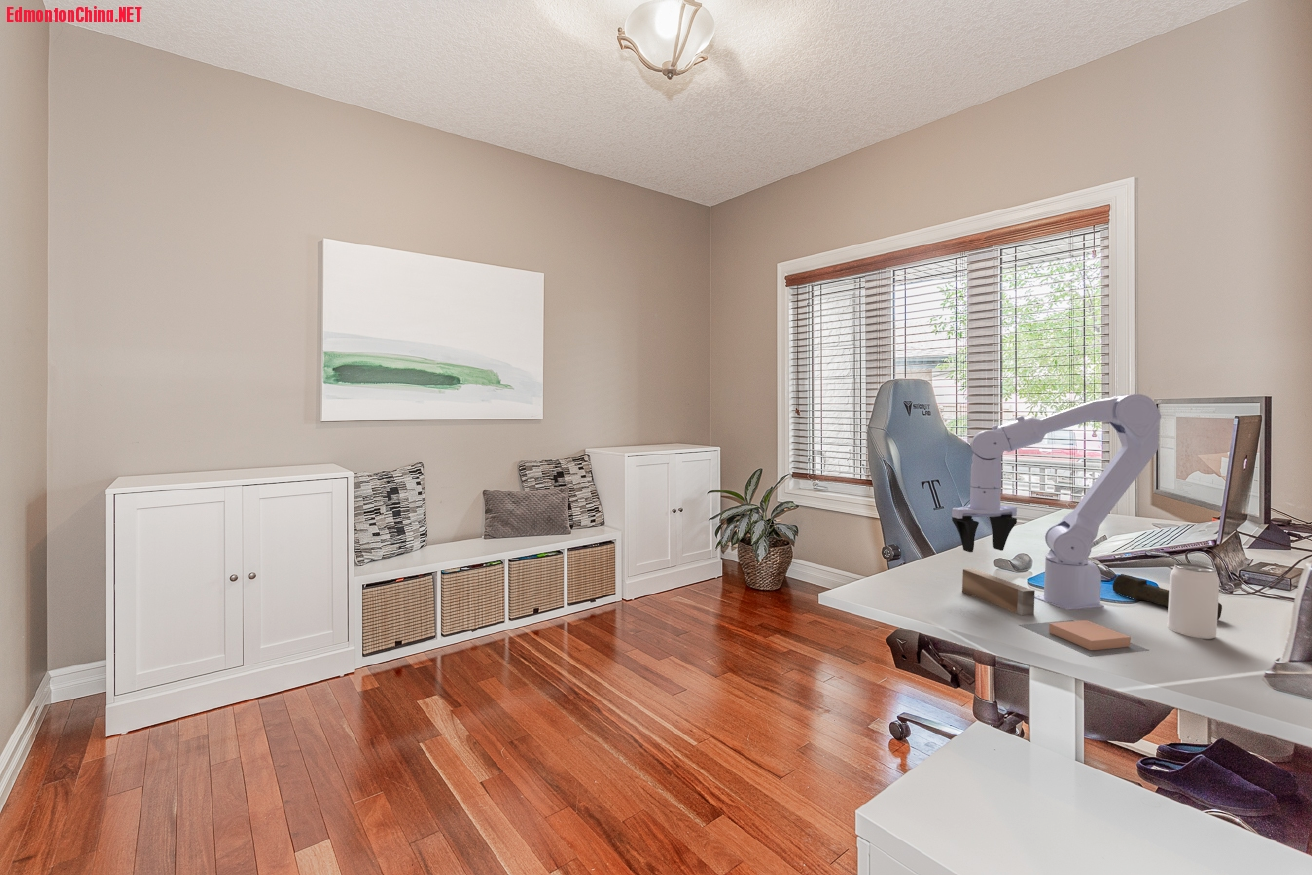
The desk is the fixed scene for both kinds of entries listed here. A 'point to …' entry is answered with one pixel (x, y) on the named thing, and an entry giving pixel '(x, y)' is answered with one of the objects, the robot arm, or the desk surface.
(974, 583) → the wooden plank
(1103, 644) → the tile
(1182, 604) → the can
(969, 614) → the desk surface
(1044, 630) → the mat
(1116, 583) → the hand tool
